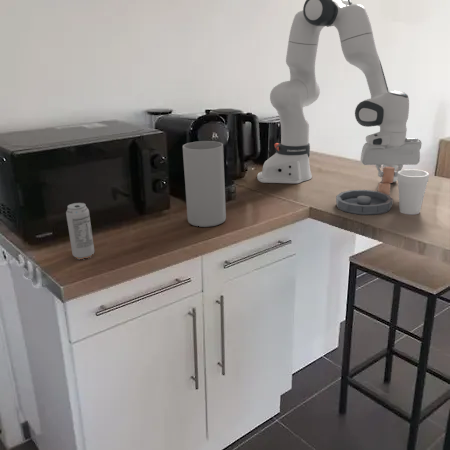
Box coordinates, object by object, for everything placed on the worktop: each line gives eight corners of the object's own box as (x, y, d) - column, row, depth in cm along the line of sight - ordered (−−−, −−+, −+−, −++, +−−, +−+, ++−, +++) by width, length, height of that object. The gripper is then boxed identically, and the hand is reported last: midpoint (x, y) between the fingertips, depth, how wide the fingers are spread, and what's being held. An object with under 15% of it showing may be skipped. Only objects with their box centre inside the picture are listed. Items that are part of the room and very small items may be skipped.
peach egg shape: (383, 183, 183) (384, 169, 181) (380, 179, 187) (381, 166, 185) (394, 183, 183) (396, 169, 181) (391, 179, 187) (393, 166, 185)
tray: (341, 215, 166) (342, 206, 165) (332, 198, 183) (333, 190, 182) (397, 214, 166) (398, 205, 164) (383, 197, 182) (384, 189, 181)
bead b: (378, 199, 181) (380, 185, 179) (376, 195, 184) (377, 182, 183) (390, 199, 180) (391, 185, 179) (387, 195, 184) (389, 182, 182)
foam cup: (425, 217, 162) (429, 177, 158) (394, 215, 165) (398, 176, 160) (423, 207, 171) (427, 169, 166) (394, 205, 173) (397, 168, 169)
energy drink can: (91, 249, 148) (84, 200, 142) (97, 256, 143) (90, 206, 137) (70, 254, 145) (62, 204, 139) (76, 262, 140) (68, 210, 135)
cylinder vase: (233, 222, 165) (230, 145, 156) (199, 230, 159) (195, 151, 150) (213, 211, 175) (209, 139, 166) (181, 219, 168) (175, 144, 160)
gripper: (419, 136, 181) (414, 173, 187) (361, 136, 182) (358, 173, 187) (425, 140, 176) (419, 178, 181) (365, 140, 176) (361, 178, 182)
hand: (387, 176), depth 184 cm, fingers closed on peach egg shape, 4 cm apart
